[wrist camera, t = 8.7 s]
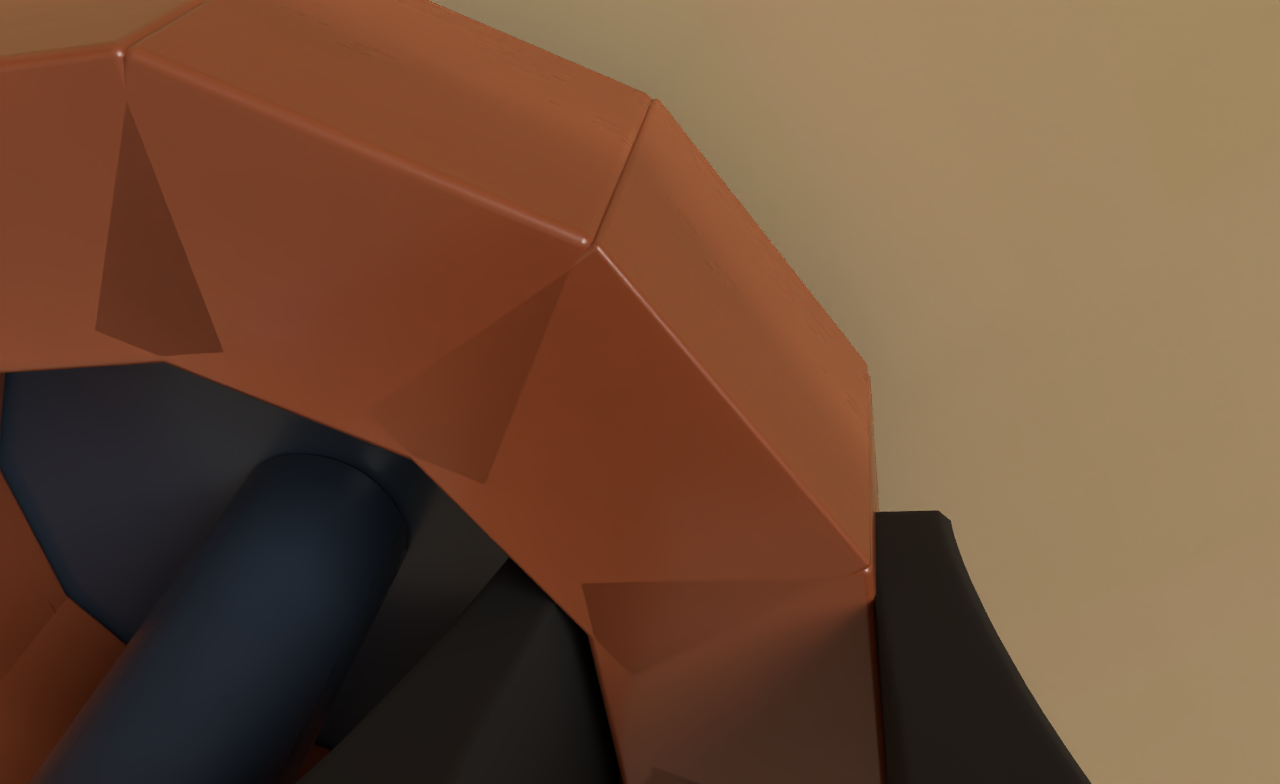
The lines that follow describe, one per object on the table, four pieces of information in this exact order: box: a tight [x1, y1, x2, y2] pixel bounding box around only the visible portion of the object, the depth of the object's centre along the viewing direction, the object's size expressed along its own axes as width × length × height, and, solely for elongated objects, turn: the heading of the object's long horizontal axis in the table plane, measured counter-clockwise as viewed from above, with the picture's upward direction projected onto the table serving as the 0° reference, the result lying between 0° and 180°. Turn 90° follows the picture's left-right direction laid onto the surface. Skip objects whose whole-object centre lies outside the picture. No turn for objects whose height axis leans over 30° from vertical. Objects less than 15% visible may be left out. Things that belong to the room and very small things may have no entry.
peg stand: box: [0, 362, 509, 784], centre depth 12 cm, size 8×8×6 cm
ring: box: [0, 0, 887, 784], centre depth 13 cm, size 12×12×3 cm
